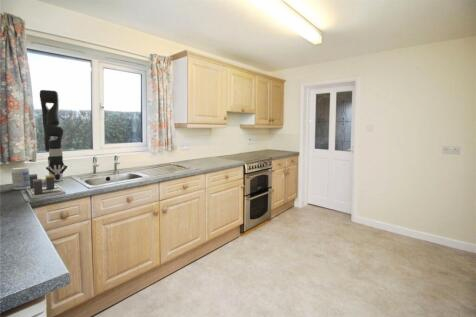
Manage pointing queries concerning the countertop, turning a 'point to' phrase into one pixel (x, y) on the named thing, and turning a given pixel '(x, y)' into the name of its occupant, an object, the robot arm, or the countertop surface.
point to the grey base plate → (42, 188)
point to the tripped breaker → (49, 182)
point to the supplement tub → (20, 178)
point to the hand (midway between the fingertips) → (57, 179)
